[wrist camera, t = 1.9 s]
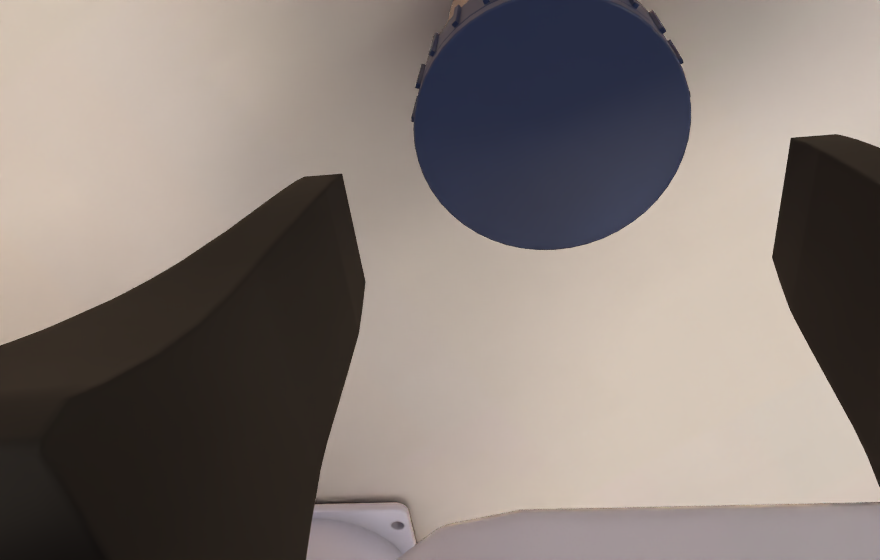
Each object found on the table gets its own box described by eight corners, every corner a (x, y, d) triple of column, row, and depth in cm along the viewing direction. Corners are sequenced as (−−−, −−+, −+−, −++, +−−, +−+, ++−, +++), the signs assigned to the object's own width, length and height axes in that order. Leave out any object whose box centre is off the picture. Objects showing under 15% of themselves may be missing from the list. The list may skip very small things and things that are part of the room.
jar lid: (669, 203, 16) (685, 244, 15) (434, 220, 17) (429, 261, 16) (685, -51, 13) (707, -29, 12) (400, -19, 14) (389, 5, 13)
